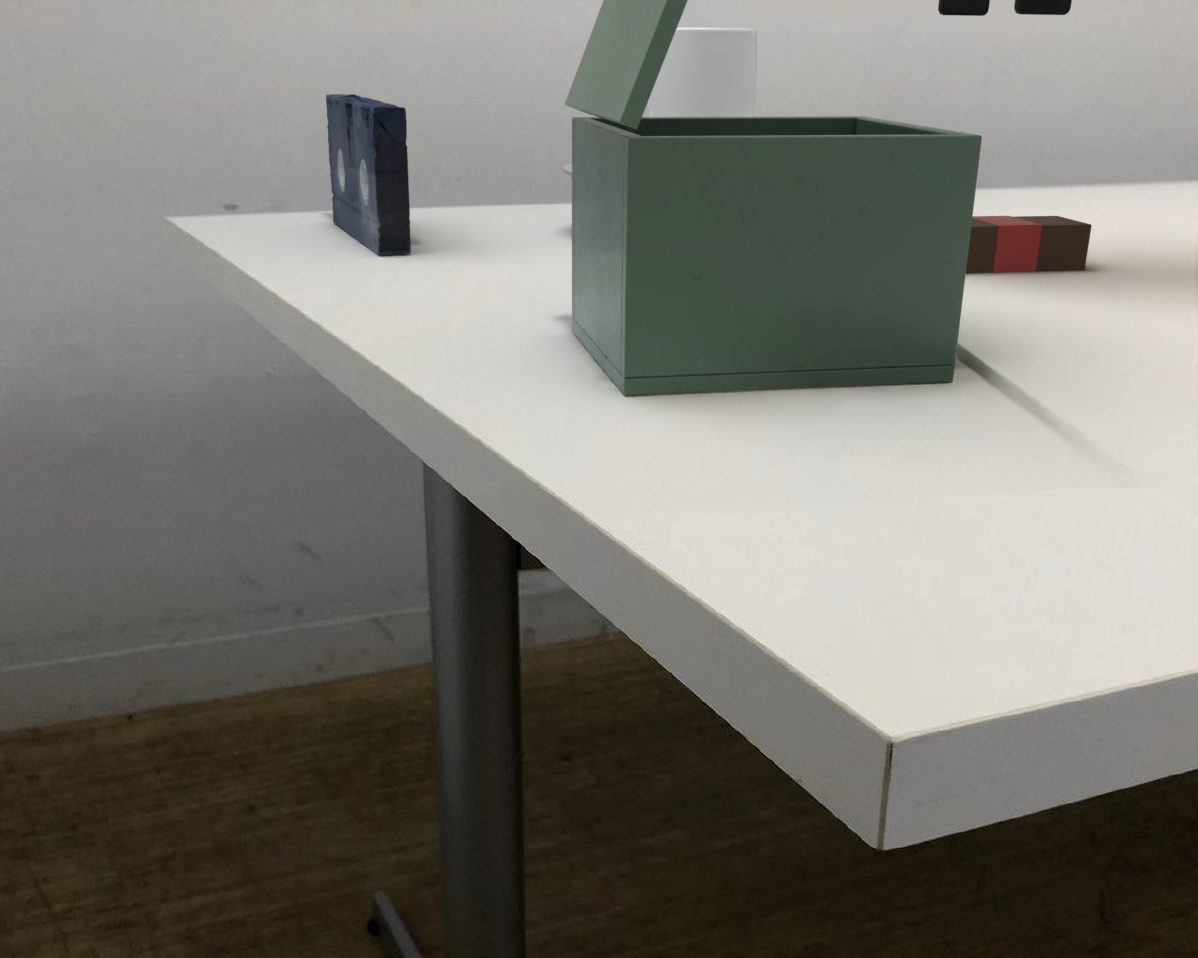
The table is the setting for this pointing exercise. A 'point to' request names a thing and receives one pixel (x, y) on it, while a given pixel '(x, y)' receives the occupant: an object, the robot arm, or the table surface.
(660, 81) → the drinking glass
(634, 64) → the bin lid
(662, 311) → the bin
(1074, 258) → the chocolate bar
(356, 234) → the vhs cassette tape
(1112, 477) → the table surface
